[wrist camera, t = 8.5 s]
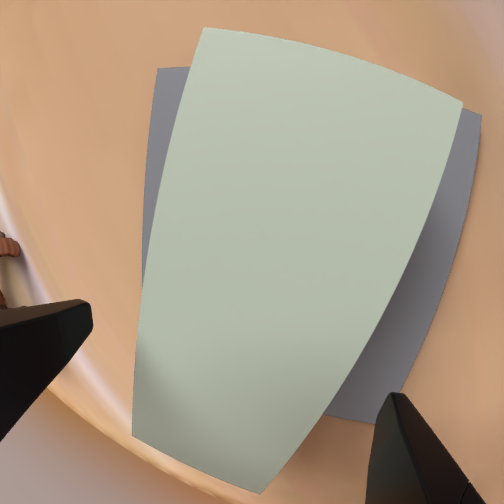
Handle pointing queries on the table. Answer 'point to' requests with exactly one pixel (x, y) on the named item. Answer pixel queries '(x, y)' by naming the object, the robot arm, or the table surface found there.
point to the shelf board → (276, 244)
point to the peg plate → (411, 282)
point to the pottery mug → (7, 248)
